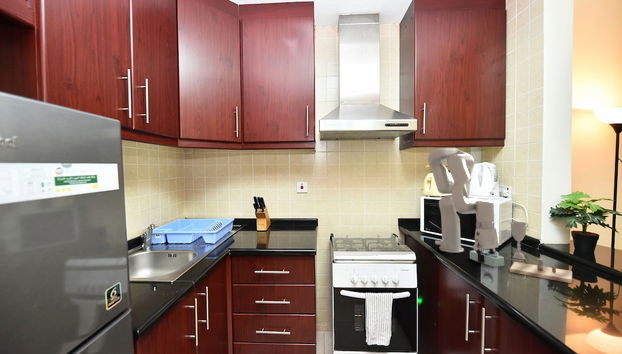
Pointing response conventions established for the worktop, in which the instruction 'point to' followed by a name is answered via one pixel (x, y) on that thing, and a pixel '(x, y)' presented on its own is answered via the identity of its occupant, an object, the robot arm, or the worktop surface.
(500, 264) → the flange bar
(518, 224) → the chalice
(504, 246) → the worktop surface
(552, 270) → the post board
